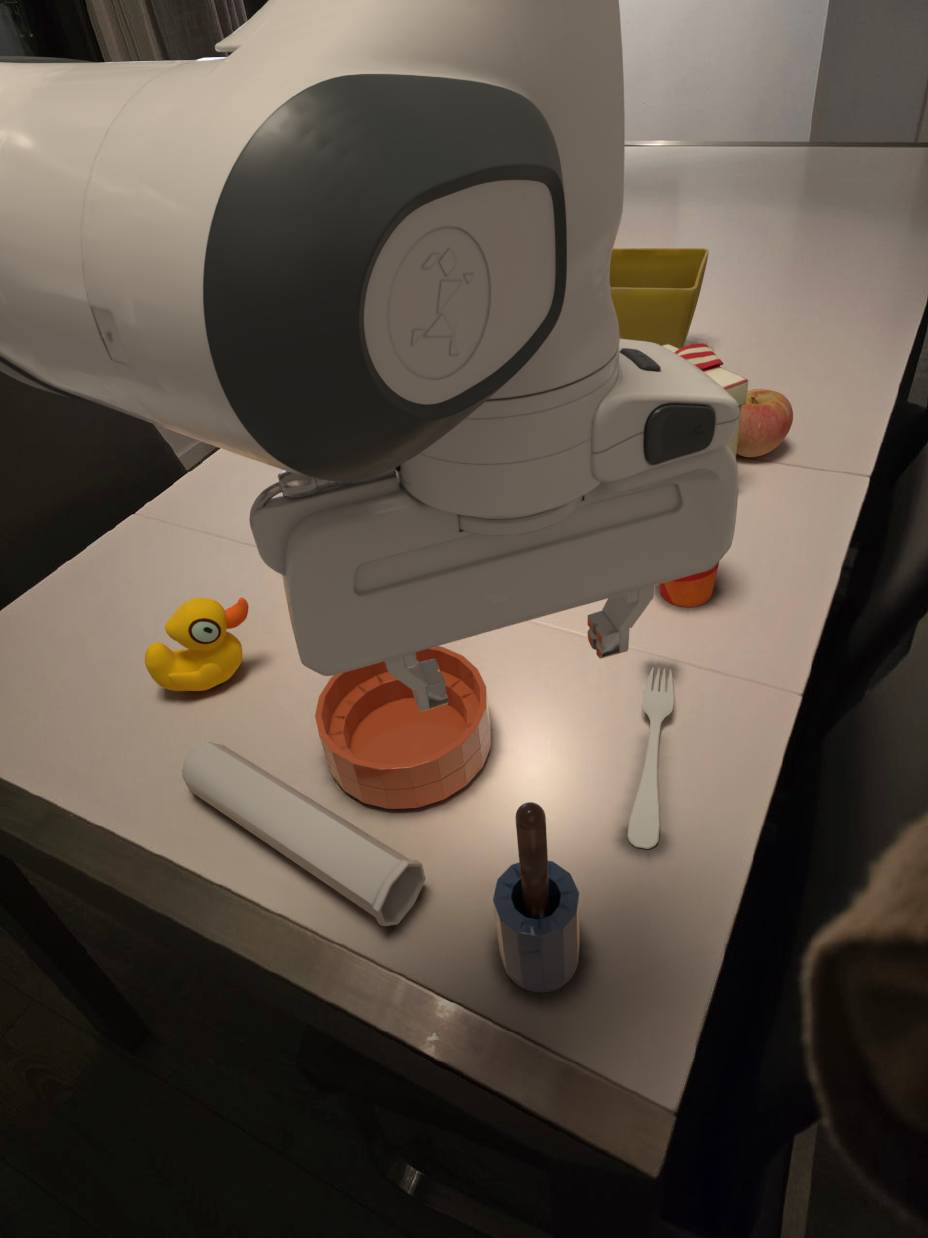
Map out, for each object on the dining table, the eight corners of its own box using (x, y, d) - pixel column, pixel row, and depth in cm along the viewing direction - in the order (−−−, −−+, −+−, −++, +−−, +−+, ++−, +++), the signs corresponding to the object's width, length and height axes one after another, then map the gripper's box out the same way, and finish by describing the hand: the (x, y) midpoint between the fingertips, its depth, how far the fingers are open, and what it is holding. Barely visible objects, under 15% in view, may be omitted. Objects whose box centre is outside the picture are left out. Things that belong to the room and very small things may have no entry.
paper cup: (662, 563, 93) (671, 455, 83) (730, 578, 89) (747, 467, 80) (639, 604, 88) (646, 493, 78) (710, 621, 84) (726, 508, 75)
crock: (517, 1004, 56) (510, 947, 51) (491, 933, 60) (483, 874, 55) (591, 977, 57) (592, 919, 52) (560, 909, 61) (558, 848, 56)
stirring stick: (532, 966, 58) (520, 825, 47) (523, 943, 59) (510, 801, 48) (555, 957, 58) (549, 815, 47) (546, 935, 59) (538, 792, 48)
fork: (623, 859, 67) (624, 843, 65) (647, 667, 80) (648, 649, 78) (658, 865, 66) (659, 849, 64) (676, 670, 79) (678, 652, 77)
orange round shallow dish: (346, 835, 68) (331, 791, 64) (317, 712, 80) (304, 669, 76) (514, 782, 71) (510, 737, 67) (463, 670, 82) (457, 626, 78)
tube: (158, 772, 70) (369, 917, 58) (197, 722, 72) (410, 852, 60) (191, 795, 75) (395, 935, 62) (228, 747, 76) (433, 873, 64)
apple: (796, 445, 109) (807, 390, 104) (764, 473, 105) (774, 417, 100) (738, 429, 114) (745, 375, 109) (704, 455, 110) (711, 400, 105)
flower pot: (588, 347, 141) (588, 246, 130) (699, 351, 136) (710, 246, 125) (563, 395, 128) (561, 287, 117) (686, 402, 122) (696, 289, 111)
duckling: (263, 646, 88) (238, 574, 82) (272, 677, 84) (247, 603, 78) (158, 680, 86) (124, 608, 79) (163, 713, 82) (127, 640, 75)
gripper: (243, 526, 27) (328, 782, 36) (778, 395, 31) (735, 658, 40) (229, 445, 32) (307, 689, 41) (694, 339, 35) (672, 585, 44)
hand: (520, 673), depth 40 cm, fingers open, 8 cm apart
